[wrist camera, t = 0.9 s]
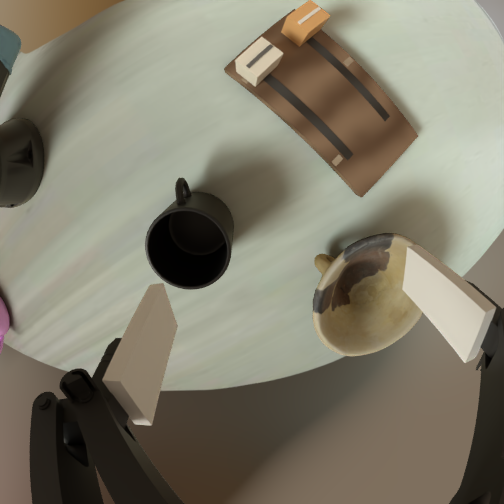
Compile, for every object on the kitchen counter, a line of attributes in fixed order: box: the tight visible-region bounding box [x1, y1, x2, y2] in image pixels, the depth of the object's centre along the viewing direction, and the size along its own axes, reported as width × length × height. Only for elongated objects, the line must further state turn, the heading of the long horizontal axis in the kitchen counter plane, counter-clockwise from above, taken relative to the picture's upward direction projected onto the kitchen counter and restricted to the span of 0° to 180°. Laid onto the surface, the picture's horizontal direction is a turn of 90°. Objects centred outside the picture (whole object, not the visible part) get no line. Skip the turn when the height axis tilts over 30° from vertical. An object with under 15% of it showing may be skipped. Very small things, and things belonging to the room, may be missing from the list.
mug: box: [145, 178, 234, 289], centre depth 32 cm, size 9×12×9 cm
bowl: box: [313, 233, 423, 356], centre depth 36 cm, size 18×18×10 cm
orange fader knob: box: [281, 0, 330, 47], centre depth 22 cm, size 3×4×5 cm
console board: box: [224, 9, 418, 197], centre depth 30 cm, size 24×13×2 cm, turn 48°
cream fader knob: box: [235, 37, 284, 87], centre depth 24 cm, size 3×4×5 cm
